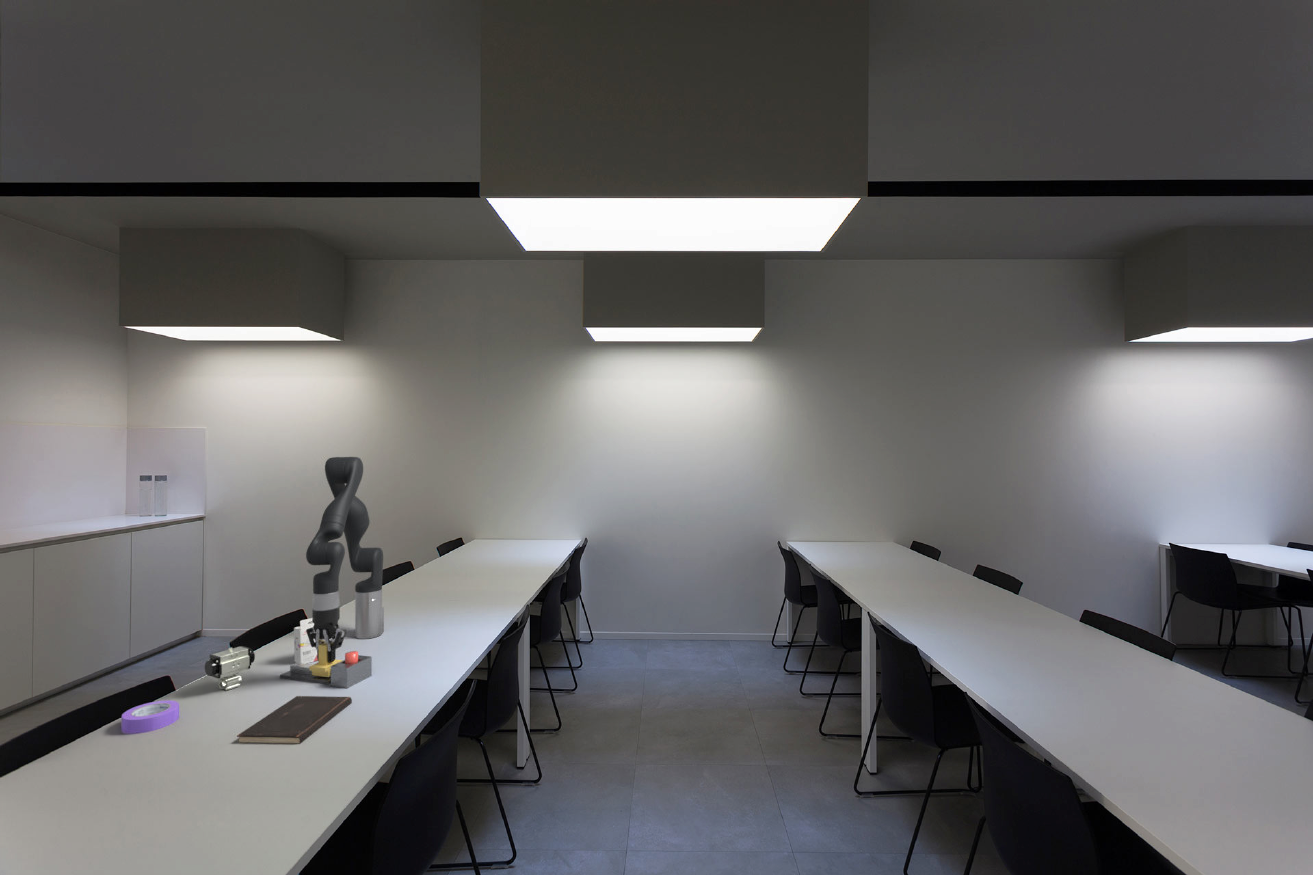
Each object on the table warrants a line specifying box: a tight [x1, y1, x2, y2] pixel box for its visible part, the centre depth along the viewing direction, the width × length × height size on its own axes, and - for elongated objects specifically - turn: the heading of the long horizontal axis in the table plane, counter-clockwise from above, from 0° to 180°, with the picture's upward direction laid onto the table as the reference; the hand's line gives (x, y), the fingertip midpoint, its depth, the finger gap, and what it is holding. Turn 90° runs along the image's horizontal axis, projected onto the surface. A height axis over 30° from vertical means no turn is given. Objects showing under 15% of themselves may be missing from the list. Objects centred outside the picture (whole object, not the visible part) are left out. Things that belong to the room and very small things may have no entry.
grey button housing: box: [330, 654, 373, 689], centre depth 187 cm, size 10×6×6 cm, turn 164°
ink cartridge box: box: [293, 617, 318, 664], centre depth 205 cm, size 9×5×15 cm, turn 143°
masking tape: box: [121, 699, 180, 735], centre depth 159 cm, size 12×12×4 cm
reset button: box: [344, 650, 359, 664], centre depth 187 cm, size 4×4×5 cm
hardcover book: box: [236, 695, 353, 744], centre depth 160 cm, size 16×23×2 cm
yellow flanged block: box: [309, 643, 343, 677], centre depth 189 cm, size 7×6×9 cm
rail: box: [279, 662, 331, 685], centre depth 191 cm, size 8×19×3 cm, turn 74°
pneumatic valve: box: [204, 645, 256, 691], centre depth 182 cm, size 6×12×12 cm, turn 152°
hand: (326, 661), depth 189 cm, fingers closed on yellow flanged block, 3 cm apart
